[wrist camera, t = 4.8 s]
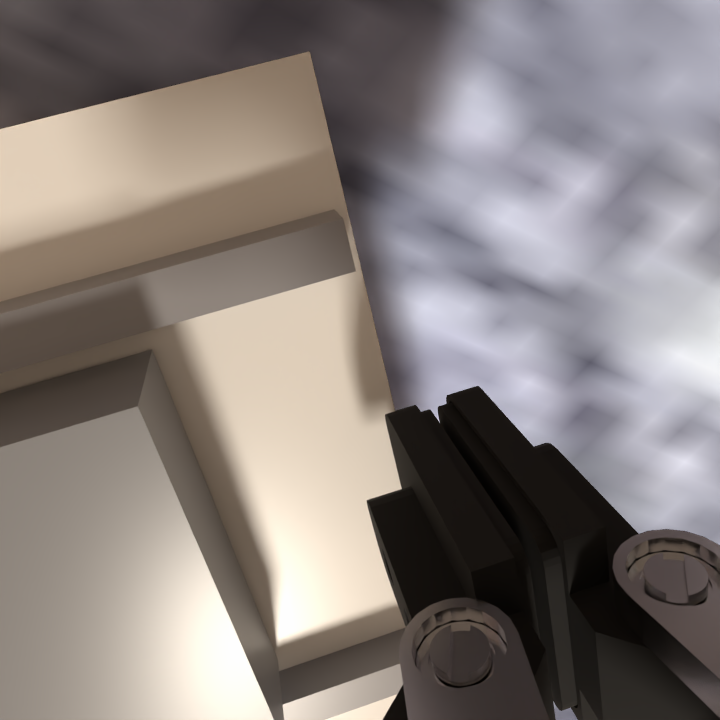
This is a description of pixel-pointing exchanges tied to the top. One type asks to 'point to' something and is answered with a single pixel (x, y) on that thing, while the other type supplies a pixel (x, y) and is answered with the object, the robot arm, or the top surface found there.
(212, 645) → the shutter
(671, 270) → the top surface
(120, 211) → the socket
